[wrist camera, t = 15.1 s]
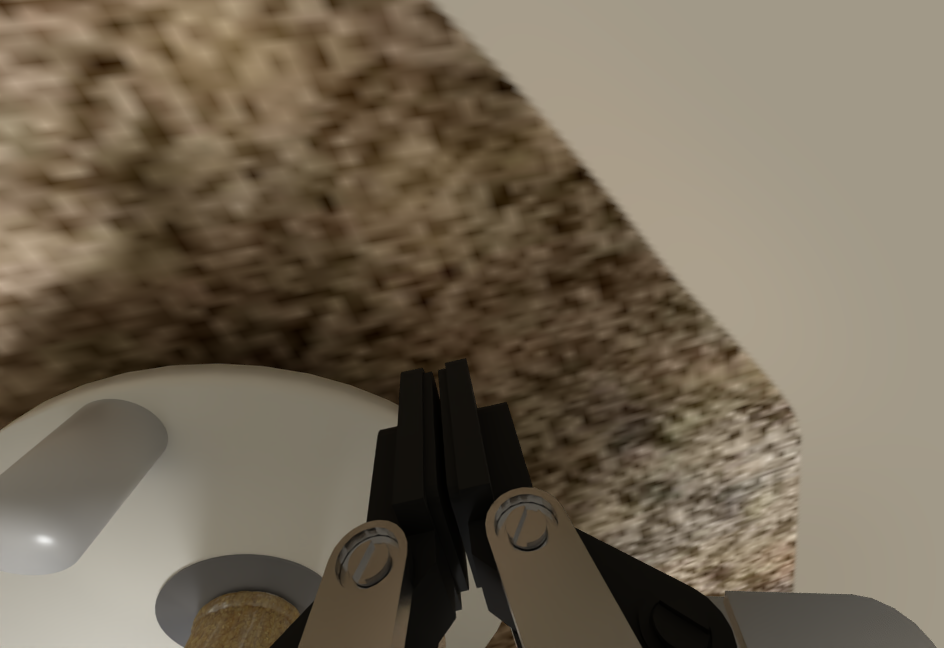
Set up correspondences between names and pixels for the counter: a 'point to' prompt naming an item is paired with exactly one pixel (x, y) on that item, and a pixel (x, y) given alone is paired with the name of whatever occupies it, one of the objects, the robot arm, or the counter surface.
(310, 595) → the turntable
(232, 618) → the sprinkles bottle
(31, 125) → the counter surface
